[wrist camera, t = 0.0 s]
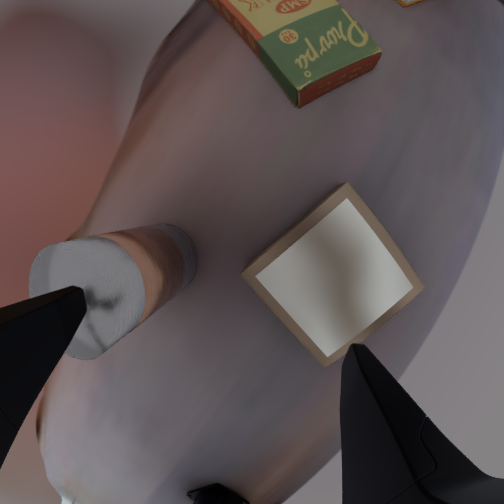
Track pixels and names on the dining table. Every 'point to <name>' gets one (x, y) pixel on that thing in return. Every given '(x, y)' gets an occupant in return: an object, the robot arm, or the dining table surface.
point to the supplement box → (407, 2)
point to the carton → (303, 43)
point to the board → (334, 276)
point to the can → (116, 279)
